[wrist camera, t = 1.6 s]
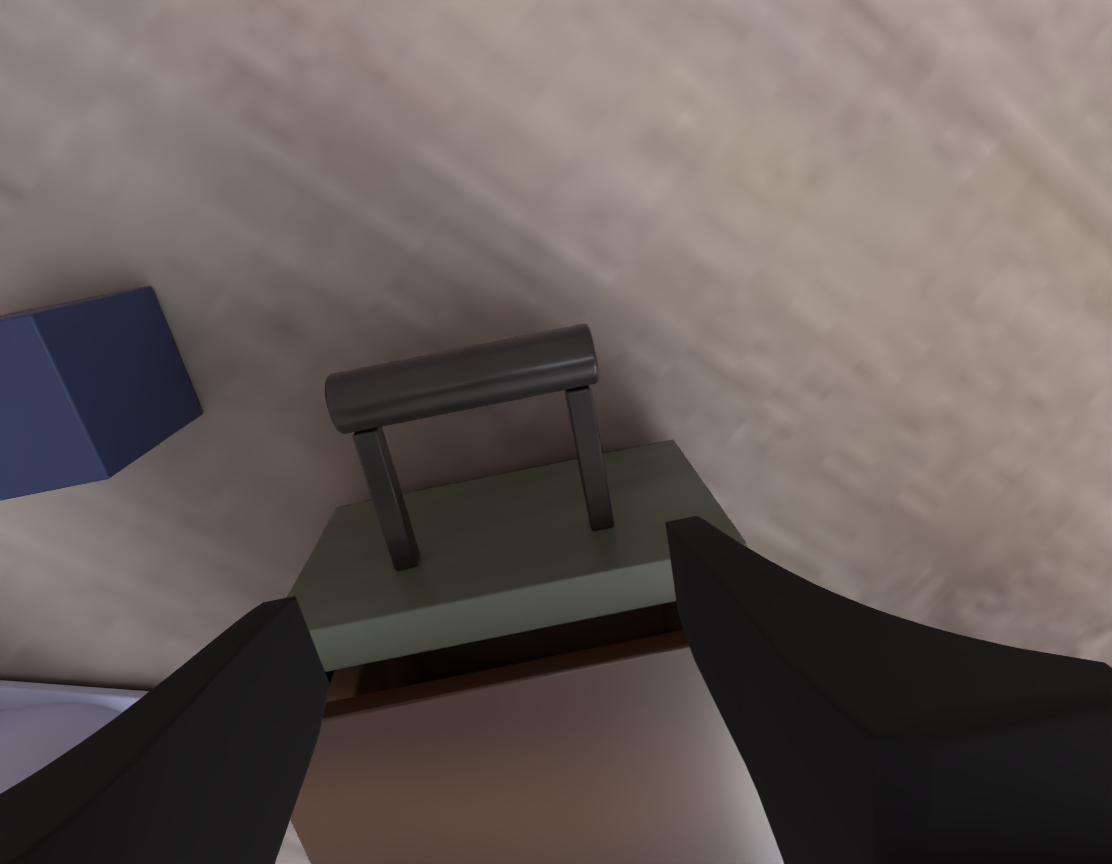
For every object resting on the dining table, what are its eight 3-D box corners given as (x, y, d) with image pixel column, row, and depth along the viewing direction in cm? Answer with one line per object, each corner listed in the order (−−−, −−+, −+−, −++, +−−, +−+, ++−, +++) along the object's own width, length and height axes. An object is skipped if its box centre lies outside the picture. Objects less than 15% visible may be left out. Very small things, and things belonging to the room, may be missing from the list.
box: (204, 414, 20) (109, 479, 15) (65, 441, 20) (-74, 515, 15) (152, 285, 18) (30, 313, 14) (2, 315, 18) (-171, 353, 14)
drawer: (284, 352, 18) (171, 427, 12) (652, 279, 19) (726, 317, 12) (432, 785, 24) (408, 983, 18) (710, 729, 25) (779, 906, 18)
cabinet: (341, 545, 22) (249, 734, 14) (690, 475, 22) (793, 624, 14) (437, 819, 26) (407, 1076, 18) (725, 761, 26) (816, 991, 19)
